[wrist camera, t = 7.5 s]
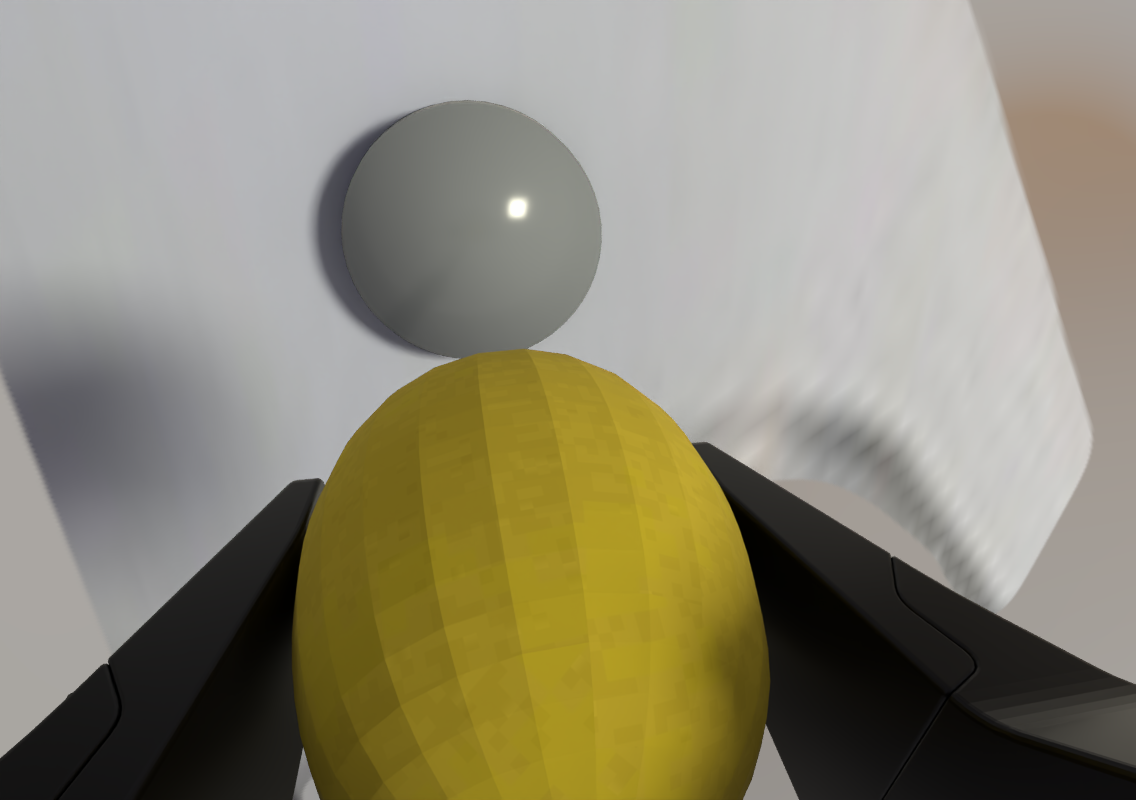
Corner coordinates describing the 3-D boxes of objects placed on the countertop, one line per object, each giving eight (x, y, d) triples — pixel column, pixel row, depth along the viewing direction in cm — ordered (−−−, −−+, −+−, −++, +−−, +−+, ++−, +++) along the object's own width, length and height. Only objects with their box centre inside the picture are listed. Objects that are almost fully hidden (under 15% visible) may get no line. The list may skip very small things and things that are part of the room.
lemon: (495, 558, 13) (558, 1101, 7) (272, 417, 10) (-8, 1126, 4) (695, 404, 12) (1020, 887, 5) (504, 194, 9) (695, 676, 2)
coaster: (589, 339, 22) (595, 351, 22) (366, 353, 21) (363, 367, 20) (601, 101, 18) (609, 105, 17) (322, 99, 17) (317, 103, 16)
